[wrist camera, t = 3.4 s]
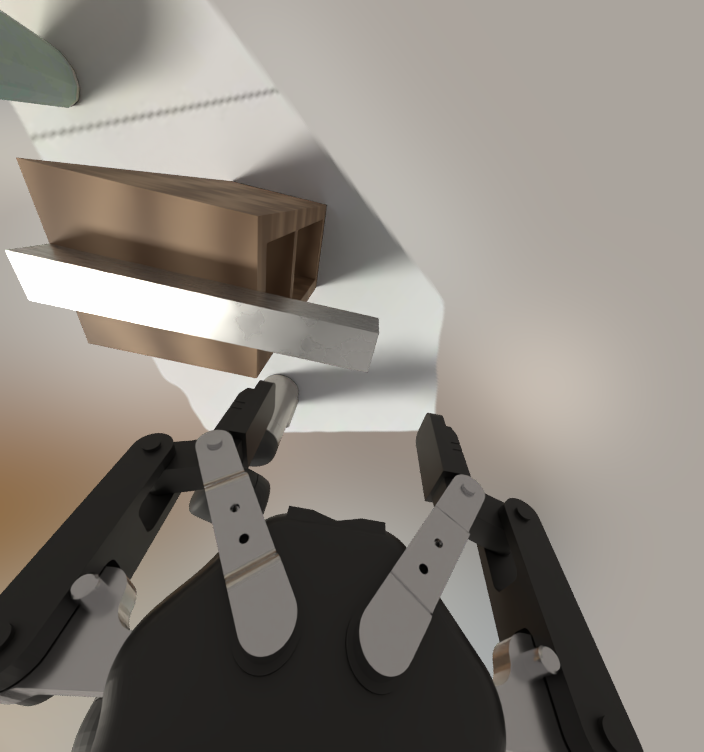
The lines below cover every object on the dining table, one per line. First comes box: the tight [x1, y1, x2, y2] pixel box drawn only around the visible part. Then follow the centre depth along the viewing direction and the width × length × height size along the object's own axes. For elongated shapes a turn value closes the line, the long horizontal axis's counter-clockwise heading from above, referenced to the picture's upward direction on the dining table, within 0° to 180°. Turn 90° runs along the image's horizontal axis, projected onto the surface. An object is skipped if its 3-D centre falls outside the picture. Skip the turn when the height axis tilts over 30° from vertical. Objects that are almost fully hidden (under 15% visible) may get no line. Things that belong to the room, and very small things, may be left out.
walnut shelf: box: [16, 158, 327, 378], centre depth 35 cm, size 16×14×32 cm
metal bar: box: [5, 244, 379, 373], centre depth 21 cm, size 26×4×3 cm, turn 78°
